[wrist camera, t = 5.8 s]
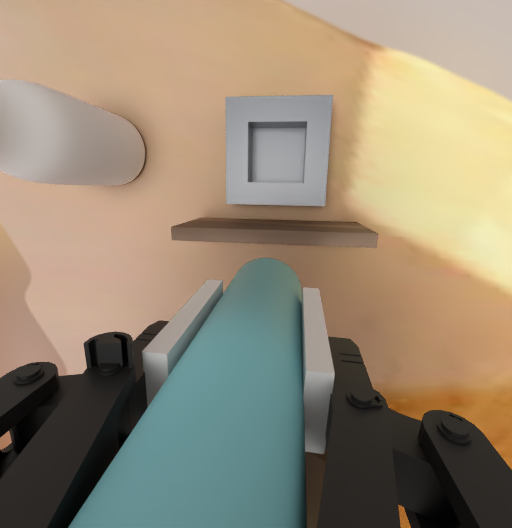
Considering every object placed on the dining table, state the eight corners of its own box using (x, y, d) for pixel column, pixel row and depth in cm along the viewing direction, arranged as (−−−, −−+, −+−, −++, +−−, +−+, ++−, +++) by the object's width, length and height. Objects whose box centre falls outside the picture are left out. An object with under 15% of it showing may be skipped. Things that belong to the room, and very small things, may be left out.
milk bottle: (135, 107, 34) (-78, -3, 14) (156, 176, 35) (-11, 162, 16) (76, 126, 35) (-192, 49, 16) (98, 192, 37) (-119, 196, 17)
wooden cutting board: (355, 232, 34) (376, 247, 25) (201, 227, 36) (171, 240, 27) (356, 222, 34) (378, 233, 25) (200, 217, 36) (171, 226, 27)
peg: (298, 326, 18) (298, 792, 4) (231, 319, 18) (41, 717, 5) (304, 260, 16) (327, 608, 3) (232, 255, 17) (-13, 536, 4)
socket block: (321, 204, 34) (325, 206, 30) (233, 202, 35) (226, 203, 31) (328, 106, 31) (332, 94, 27) (233, 107, 32) (225, 96, 28)
